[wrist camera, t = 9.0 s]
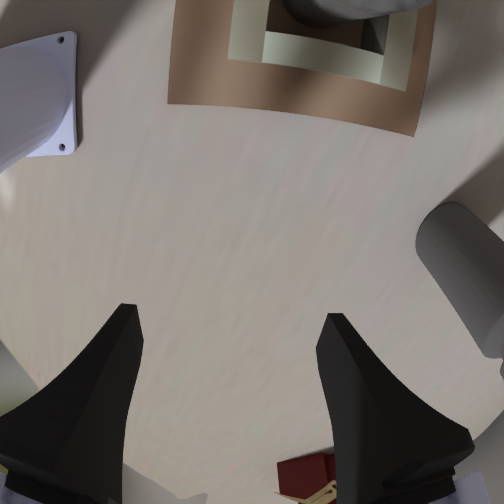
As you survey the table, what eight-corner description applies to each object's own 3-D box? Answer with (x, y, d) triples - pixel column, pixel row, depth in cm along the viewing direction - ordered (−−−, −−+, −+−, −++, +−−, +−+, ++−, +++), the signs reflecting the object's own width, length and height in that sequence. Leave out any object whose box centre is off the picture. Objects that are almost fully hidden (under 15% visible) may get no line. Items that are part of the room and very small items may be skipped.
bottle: (456, 187, 20) (592, 325, 8) (479, 233, 23) (582, 360, 10) (402, 236, 22) (508, 404, 10) (431, 275, 25) (516, 419, 12)
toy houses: (262, 463, 48) (265, 513, 40) (375, 434, 44) (389, 485, 36) (320, 496, 72) (324, 525, 63) (388, 477, 68) (394, 506, 59)
